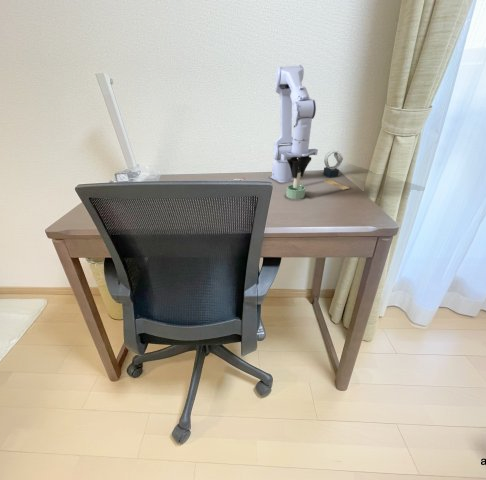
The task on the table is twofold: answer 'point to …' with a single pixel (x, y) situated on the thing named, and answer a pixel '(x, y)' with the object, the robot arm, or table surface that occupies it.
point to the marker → (297, 179)
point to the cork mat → (337, 184)
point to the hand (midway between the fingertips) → (297, 176)
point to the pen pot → (295, 192)
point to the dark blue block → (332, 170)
